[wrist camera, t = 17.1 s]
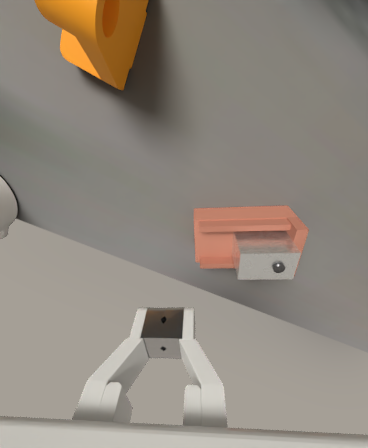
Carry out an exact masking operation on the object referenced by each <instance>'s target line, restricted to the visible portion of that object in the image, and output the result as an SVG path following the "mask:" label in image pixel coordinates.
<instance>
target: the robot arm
mask: <svg viewBox="0 0 368 448" xmlns="http://www.w3.org/2000/svg"><path fill="white" fill-rule="evenodd" d="M17 211H18V208H17V202H16V199H15V197H14V194H13V193H12V191H11V189H10V188H9V186H8V185H7V183H6V182H5V181H4V180H3V179H2V178H1V177H0V239H2V238H4V237H6V236H7V234H8V227H9V226H10V224H12V223H13V221H14V220H15V219H16V216H17ZM149 358H173V359H174V358H175V359H182V361H183V364H184V366H185V368H186V370H187V373H188V375H189V377H190V379H191V382H192V384H193V385H188V386H187V387H186V388H185V398H184V419H183V425H164V424H145V423H130V419H131V414H132V409H133V408H132V406H131V404H130V401H129V399H128V398H127V396H126V393H127V392H128V390H129V388H130V387H131V386H132V384H133V383H134V381H135V380H136V378H137V377H138V375H139V374H140V372H141V371H142V369H143V368H144V366H145V365H146V363H147V362H148V360H149ZM0 448H368V435H360V434H341V433H322V432H301V431H282V430H262V429H243V428H227V418H226V407H225V396H224V387H223V384H222V382H221V381H220V379H219V378H218V375H217V374H216V372H215V370H214V368H213V367H212V365H211V364H210V362H209V360H208V358H207V357H206V355H205V353H204V351H203V350H202V348H201V346H200V345H199V343H198V341H197V340H196V339H195V316H194V308H138V310H137V313H136V316H135V320H134V323H133V327H132V330H131V333H130V337H129V338H126V339H125V340H124V341H123V342H122V344H121V345H120V346H119V347H118V348H117V349H116V350H115V351H114V352H113V353H112V354H111V355H110V357H109V358H108V359H107V360H106V361H105V362H104V363H103V364H102V365H101V366H100V367H99V368H98V369H97V370H96V372H95V373H94V374H93V375H92V376H91V377H90V378H89V379H88V381H87V383H86V385H85V388H84V390H83V393H82V395H81V398H80V401H79V403H78V405H77V408H76V411H75V413H74V416H73V418H72V420H66V419H47V418H27V417H8V416H7V417H6V416H0Z"/></svg>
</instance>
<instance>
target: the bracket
mask: <svg viewBox="0 0 368 448" xmlns="http://www.w3.org/2000/svg"><path fill="white" fill-rule="evenodd" d="M148 1H149V0H35V3H36V5H37V7H38V9H39V11H40V12H41V14H42V15H43V16H44V17H45V18H46V19H47V20H48V21H50V22H52V23H53V24H55V25H57V26H58V27H60V28H62V35H61V43H60V50H61V53H62V55H63V57H64V58H65V59H66V60H67V61H69V62H71V63H73V64H74V65H76V66H78V67H80V68H81V69H83V70H85V71H87V72H89V73H90V74H92V75H94V76H96V77H97V78H99V79H101V80H103V81H105V82H106V83H108V84H110V85H112V86H113V87H115V88H117V89H119V90H124V86H125V83H126V79H127V75H128V72H129V68H132V65H133V61H134V58H135V54H136V51H137V47H138V44H139V40H140V37H141V33H142V29H143V26H144V22H145V19H146V15H147V13H146V8H147V4H148Z"/></svg>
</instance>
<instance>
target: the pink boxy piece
mask: <svg viewBox="0 0 368 448" xmlns="http://www.w3.org/2000/svg"><path fill="white" fill-rule="evenodd" d="M279 230H285V231H286V232H287V233H288V235H289V236H290V238H291V239H292V241H293V242H294V244H295V245H296V246H297V248H298V249H299V251H300V252H301V254H302V250H303V247H304V244H305V241H306V238H307V234H308V231H309V229H308V228H307V227H306V226H305V225H304V224H303V223H302V221H301V220H300V219H299V218H298V217H297V216H296V215H295V213H294V212H293V211H292V210H291V209H290V208H289V207H288V206H259V207H228V208H197V209H194V234H195V257H196V262H200V268H235V266H234V261H233V257H232V244H233V232H236V231H279ZM300 257H301V255H300ZM299 260H300V258H299ZM298 263H299V261H298ZM297 266H298V264H297ZM296 270H297V267H296ZM295 273H296V271H295ZM294 276H295V274H294Z"/></svg>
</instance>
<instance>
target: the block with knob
mask: <svg viewBox="0 0 368 448" xmlns="http://www.w3.org/2000/svg"><path fill="white" fill-rule="evenodd" d="M300 255H301V252H300V251H299V249H298V248H297V246H296V245H295V244H294V242H293V241H292V239H291V238H290V236H289V235H288V233H287V232H286V231H285V230H279V231H236V232H233V244H232V257H233V261H234V266H235V270H236V274H237V279H238V280H255V279H293V277H294V274H295V271H296V267H297V264H298V261H299V258H300Z"/></svg>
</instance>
